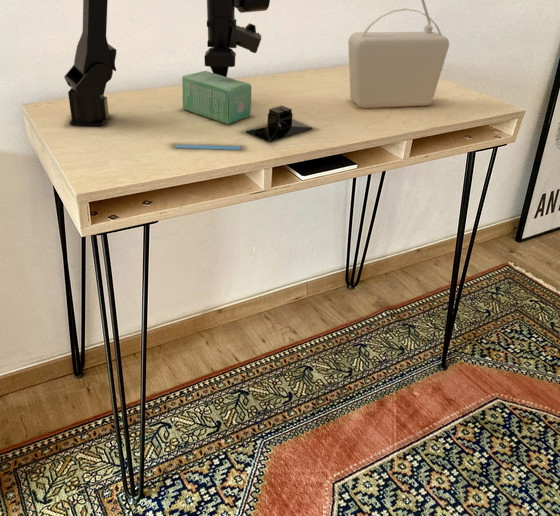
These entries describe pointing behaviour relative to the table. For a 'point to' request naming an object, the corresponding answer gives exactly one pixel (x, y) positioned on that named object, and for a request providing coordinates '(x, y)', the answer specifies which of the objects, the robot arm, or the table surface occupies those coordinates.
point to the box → (216, 96)
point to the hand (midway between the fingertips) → (222, 88)
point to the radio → (396, 66)
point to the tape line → (209, 147)
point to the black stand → (279, 125)
